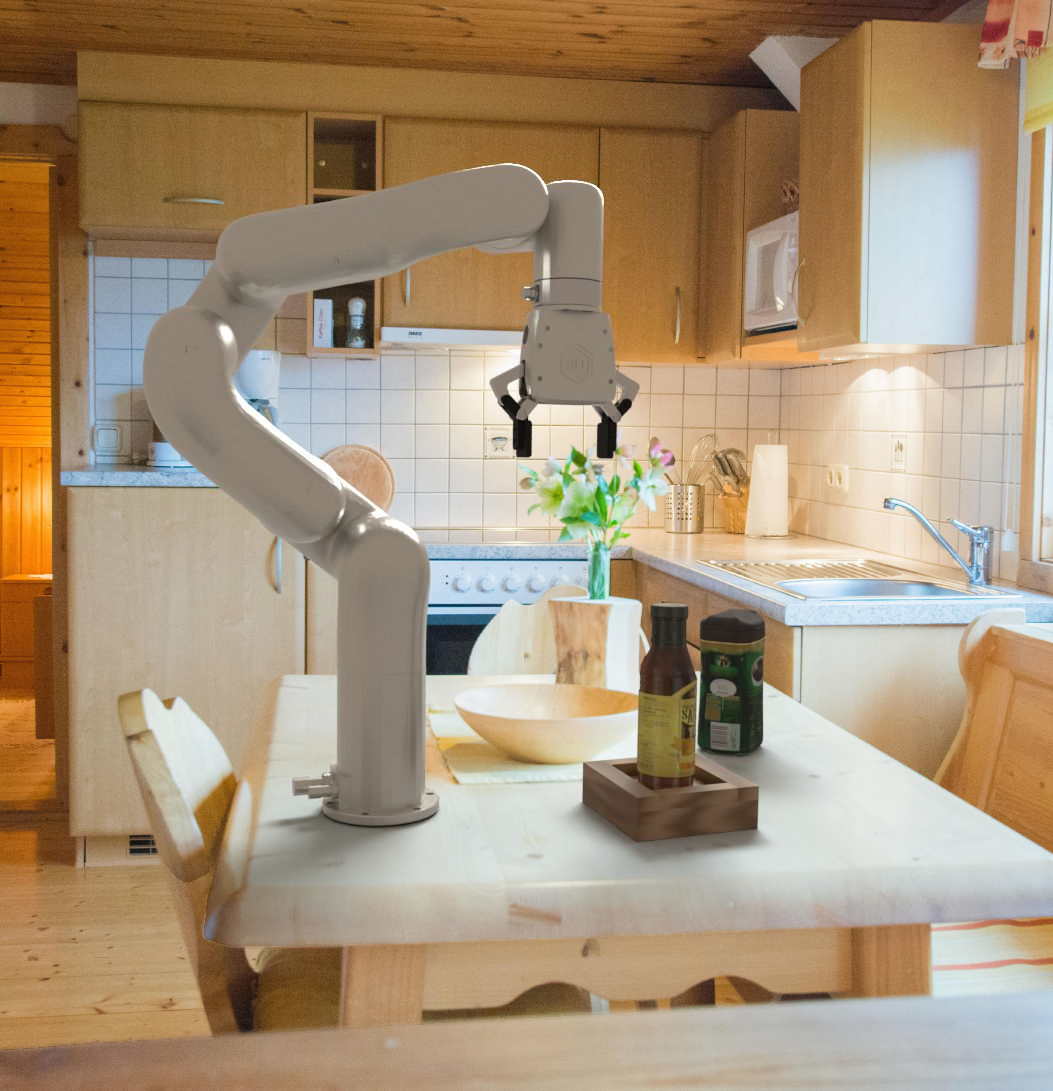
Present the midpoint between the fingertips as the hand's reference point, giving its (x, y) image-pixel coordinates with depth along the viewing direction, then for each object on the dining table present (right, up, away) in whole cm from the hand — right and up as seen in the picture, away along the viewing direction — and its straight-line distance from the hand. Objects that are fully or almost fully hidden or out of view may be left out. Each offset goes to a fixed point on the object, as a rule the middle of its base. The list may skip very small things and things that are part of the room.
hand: (564, 457), depth 125 cm
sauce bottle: (+11, -36, -3) cm, 38 cm away
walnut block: (+11, -39, -2) cm, 40 cm away
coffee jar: (+23, -37, +26) cm, 51 cm away
